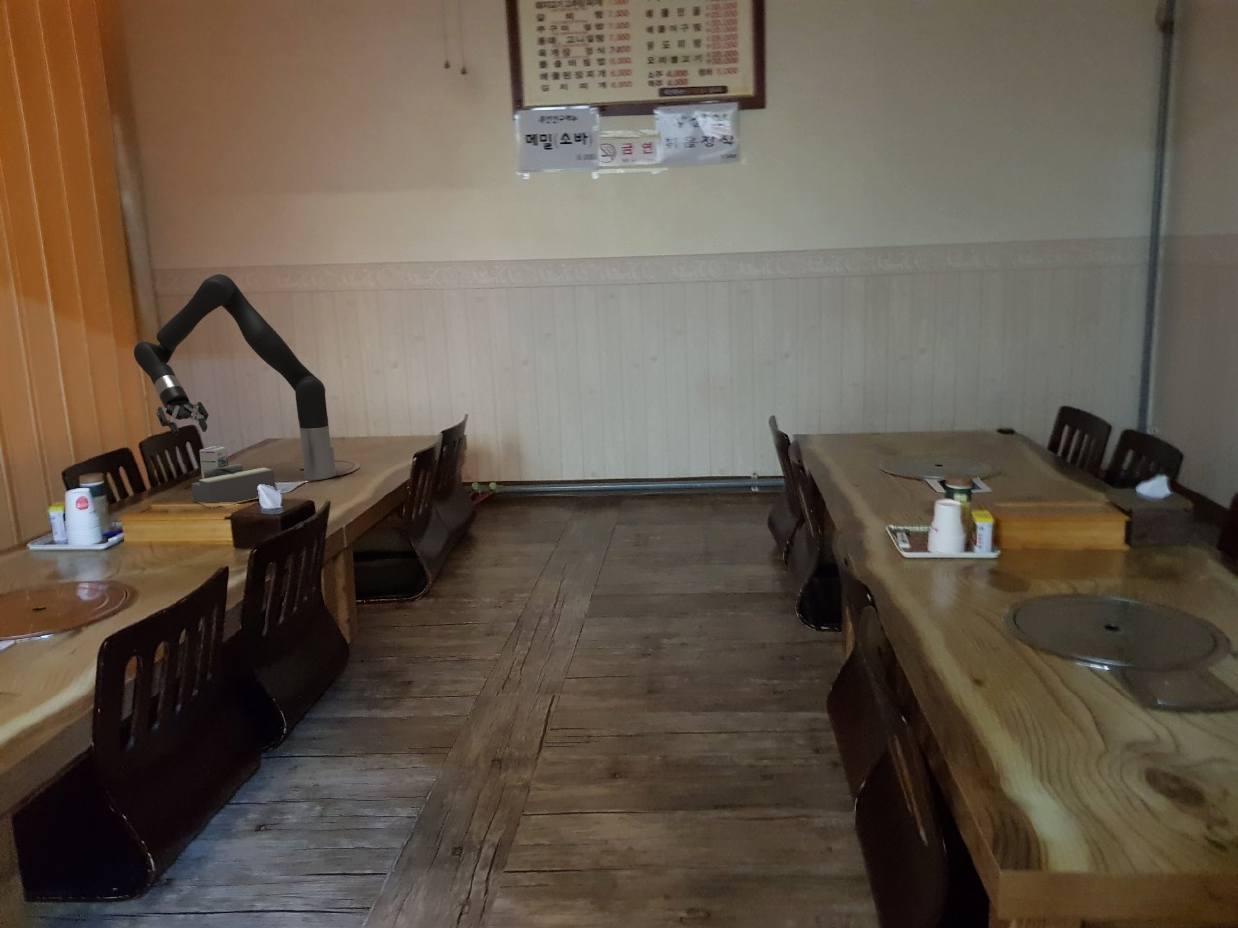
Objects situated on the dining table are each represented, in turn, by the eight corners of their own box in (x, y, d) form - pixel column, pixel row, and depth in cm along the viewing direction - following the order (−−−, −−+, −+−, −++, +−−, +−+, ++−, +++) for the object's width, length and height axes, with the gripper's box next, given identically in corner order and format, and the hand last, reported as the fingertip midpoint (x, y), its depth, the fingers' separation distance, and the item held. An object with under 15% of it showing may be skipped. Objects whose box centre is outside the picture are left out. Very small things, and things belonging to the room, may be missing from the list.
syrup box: (220, 496, 300) (216, 449, 298) (202, 495, 301) (199, 448, 299) (231, 492, 306) (227, 446, 303) (214, 491, 307) (210, 445, 304)
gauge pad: (242, 489, 304) (239, 463, 303) (255, 493, 299) (252, 466, 297) (204, 497, 296) (201, 470, 294) (217, 501, 290) (213, 473, 289)
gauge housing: (255, 490, 307) (252, 465, 306) (276, 495, 299) (273, 469, 297) (192, 503, 293) (188, 477, 291) (211, 509, 285) (208, 482, 283)
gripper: (150, 387, 306) (171, 427, 301) (196, 382, 316) (217, 421, 311) (146, 403, 310) (166, 443, 305) (190, 397, 321) (211, 436, 315)
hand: (191, 432), depth 308 cm, fingers open, 8 cm apart
